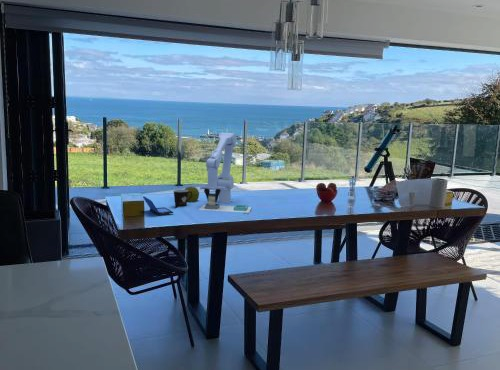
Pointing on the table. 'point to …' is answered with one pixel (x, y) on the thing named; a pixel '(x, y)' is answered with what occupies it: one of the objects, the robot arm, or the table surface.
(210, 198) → the plug
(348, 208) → the table surface
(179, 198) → the coffee mug
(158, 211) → the handheld game console
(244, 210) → the panel
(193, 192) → the apple
